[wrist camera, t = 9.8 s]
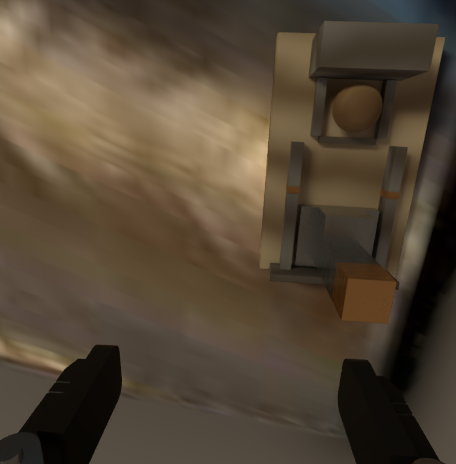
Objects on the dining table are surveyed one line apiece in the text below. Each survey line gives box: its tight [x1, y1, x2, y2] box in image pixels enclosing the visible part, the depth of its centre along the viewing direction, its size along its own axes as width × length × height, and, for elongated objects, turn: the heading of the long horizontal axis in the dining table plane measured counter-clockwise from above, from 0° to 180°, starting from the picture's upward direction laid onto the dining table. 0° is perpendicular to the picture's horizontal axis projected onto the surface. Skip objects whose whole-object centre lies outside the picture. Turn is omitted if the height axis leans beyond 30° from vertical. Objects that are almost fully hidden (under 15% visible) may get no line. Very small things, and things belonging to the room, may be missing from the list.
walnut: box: [332, 82, 383, 133], centre depth 28 cm, size 4×4×4 cm
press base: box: [259, 21, 445, 290], centre depth 30 cm, size 22×14×7 cm, turn 178°
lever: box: [294, 204, 397, 324], centre depth 28 cm, size 6×7×11 cm
